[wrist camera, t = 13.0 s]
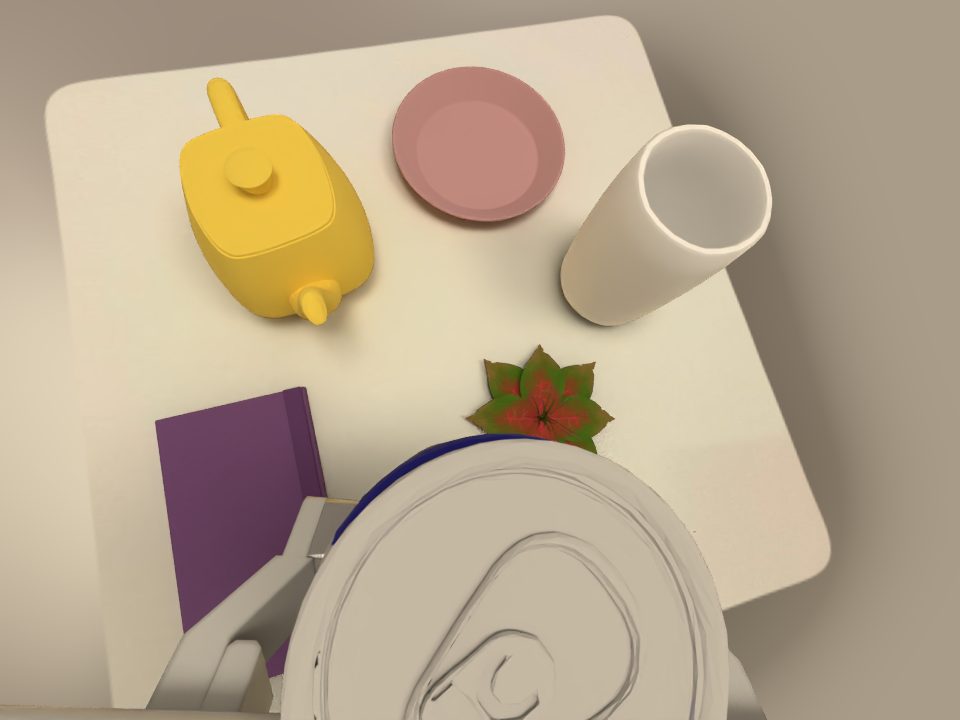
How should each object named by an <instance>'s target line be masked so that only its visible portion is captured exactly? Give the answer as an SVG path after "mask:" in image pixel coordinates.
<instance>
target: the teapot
mask: <svg viewBox="0 0 960 720" xmlns="http://www.w3.org/2000/svg"><path fill="white" fill-rule="evenodd" d="M207 94H208V97H209V100H210V103H211V105H212V108H213V110H214V113H215V115H216V118H217V120H218V123H219V125H220V127H221V128H219V129H216V130H213V131H210V132H208V133H205V134H203V135H200V136H198V137H196V138H194V139H192V140H190V141H189V142H188V143H186V145H185V146H184V147H183V149H182V151H181V154H180V174H181V181H182V187H183V192H184V197H185V201H186V206H187V211H188V215H189V219H190V223H191V226H192V229H193V232H194V235H195V238H196V240H197V242H198V244H199V246H200V248H201V250H202V253H203V255H204V257H205V258H206V260H207V262H208V263H209V265H210V267H211V268H212V270H213V271H214V273H215V274H216V275H217V277H218V278H219V279H220V281H221V282H222V283H223V284H224V286H225V287H226V288H227V289H228V290H229V292H230V293H231V294H232V295H233V296H234V297H235V298H236V299H237V300H238V301H239V302H240V303H241V304H242V305H243V306H244V307H245V308H247V309H248V310H249V311H251V312H252V313H254V314H257V315H259V316H263V317H268V318H279V317H284V316H289V315H293V314H298V315H299V316H300V317H302V318H304V319H308V320H309V321H311V322H312V323H313V324H316V325H321V324H323V323H324V322H325V321H326V319H327V315H328V314H330V313H332V312H333V311H334V310H335V309H336V308H337V307H338V306H339V304H340V301H341V296H343V295H345V294H347V293H349V292H350V291H352V290H354V289H355V288H357V287H359V286H360V285H361V284H362V283H364V282H365V281H366V280H367V278H368V277H369V275H370V274H371V271H372V269H373V264H374V246H373V240H372V234H371V230H370V226H369V223H368V219H367V216H366V213H365V210H364V208H363V206H362V203H361V201H360V199H359V197H358V195H357V193H356V191H355V189H354V188H353V186H352V184H351V183H350V181H349V179H348V178H347V176H346V175H345V173H344V172H343V171H342V169H341V168H340V167H339V165H338V164H337V163H336V162H335V160H334V159H333V158H332V157H331V155H330V154H329V153H328V152H327V151H326V149H325V148H324V147H323V146H322V145H321V144H320V143H319V142H318V141H317V140H316V139H315V138H314V137H313V136H312V135H310V134H309V133H308V132H307V131H306V130H305V129H304V128H303V127H301V126H300V125H299V124H297V123H296V122H295V121H293V120H292V119H290V118H288V117H286V116H283V115H267V116H262V117H257V118H253V119H249V118H248V116H247V114H246V112H245V110H244V108H243V106H242V104H241V102H240V100H239V98H238V96H237V94H236V92H235V90H234V89H233V87H232V86H231V84H230V83H229V82H227V81H226V80H224V79H222V78H214V79H212V80H210V81H209V82H208V84H207Z"/></svg>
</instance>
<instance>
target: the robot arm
mask: <svg viewBox="0 0 960 720" xmlns="http://www.w3.org/2000/svg"><path fill="white" fill-rule="evenodd" d="M358 503H359V501H354V500H344V499H334V498H324V497H312V496H307V497H306V498H305V500H304V501H303V503H302V506H301V508H300V511H299V514H298V516H297V519H296V521H295V524H294V527H293V529H292V532H291V534H290V537H289V539H288V542H287V545H286V547H285V550H284V552H283V555H282V556H281V555H276V556H275V557H274V558H272V559H271V560H270V561H269V562H268V563H267V564H265V565H264V566H263V567H262V568H261V569H260V570H258V571H257V572H256V573H255V574H254V575H253V576H251V577H250V578H249V579H248V580H247V581H246V582H244V583H243V584H242V585H241V586H240V587H239V588H237V589H236V590H235V591H234V592H233V593H232V594H230V595H229V596H228V597H227V598H226V599H225V600H223V601H222V602H221V603H220V604H219V605H218V606H216V607H215V608H214V609H213V610H212V611H211V612H209V613H208V614H207V615H206V616H205V617H204V618H202V619H201V620H200V621H199V622H198V623H197V624H195V625H194V626H193V627H192V628H191V629H190V630H188V631H187V632H186V633H185V634H184V635H183V636H182V638H181V640H180V642H179V644H178V646H177V648H176V650H175V652H174V654H173V656H172V658H171V660H170V662H169V664H168V666H167V668H166V669H165V671H164V673H163V675H162V677H161V679H160V681H159V683H158V685H157V687H156V689H155V691H154V693H153V695H152V697H151V699H150V701H149V703H148V705H147V707H146V709H121V708H85V707H52V706H18V705H17V706H16V705H0V720H281V713H269V710H270V707H271V703H272V700H273V697H274V696H273V692H272V688H271V684H270V680H269V676H268V672H267V668H266V665H265V664H266V663H267V662H268V660H269V659H270V658H271V657H272V656H273V655H274V653H275V652H276V651H277V650H278V649H279V648H280V646H281V645H282V644H283V643H284V642H285V640H286V639H287V638H288V637H289V636H290V635H291V633H292V632H293V629H294V626H295V623H296V620H297V617H298V614H299V611H300V608H301V605H302V602H303V600H304V598H305V596H306V594H307V592H308V589H309V587H310V585H311V583H312V581H313V579H314V577H315V575H316V573H317V571H318V569H319V566H320V564H321V561H322V559H323V556H324V554H325V551H326V549H327V547H328V545H329V543H330V541H331V540H332V538H333V536H334V534H335V533H336V531H337V529H338V528H339V527H340V526H341V524H342V523H343V522H344V520H345V519H346V518H347V517H348V515H349V514H350V513H351V511H352V510H353V509H354V508H355V506H356V505H357V504H358ZM728 656H729V670H730V680H729V694H728V707H727V720H767V719H766V717H765V714H764V712H763V710H762V708H761V706H760V704H759V702H758V699H757V697H756V696H755V693H754V691H753V688H752V686H751V684H750V682H749V680H748V678H747V675H746V673H745V671H744V669H743V667H742V664H741V662H740V661H739V660H738V659H737V658H736V657H735V656H734V655H733V654H732V653H731V652H730V651H729V650H728Z"/></svg>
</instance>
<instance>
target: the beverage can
mask: <svg viewBox="0 0 960 720" xmlns="http://www.w3.org/2000/svg"><path fill="white" fill-rule="evenodd" d="M729 680H730V670H729V656H728V641H727V630H726V626H725V622H724V618H723V613H722V609H721V605H720V602H719V598H718V594H717V591H716V587H715V584H714V580H713V577H712V575H711V573H710V571H709V569H708V567H707V565H706V563H705V561H704V559H703V557H702V554H701V552H700V550H699V548H698V546H697V544H696V542H695V540H694V539H693V537H692V536H691V534H690V533H689V531H688V530H687V528H686V527H685V525H684V524H683V523H682V521H681V520H680V519H679V518H678V516H677V515H676V514H675V513H674V511H673V510H672V509H671V508H670V506H669V505H668V504H667V503H666V502H665V501H664V500H663V499H662V498H661V497H660V496H659V495H658V494H657V493H656V492H655V491H654V490H653V489H651V488H650V487H649V486H648V485H647V484H645V483H644V482H643V481H642V480H640V479H639V478H638V477H636V476H635V475H634V474H632V473H631V472H630V471H628V470H627V469H625V468H623V467H622V466H620V465H618V464H617V463H615V462H613V461H611V460H610V459H607V458H605V457H602V456H600V455H597V454H594V453H592V452H589V451H587V450H584V449H582V448H579V447H577V446H572V445H568V444H563V443H558V442H554V441H550V440H547V439H543V438H539V437H534V436H528V435H521V434H484V435H477V436H469V437H464V438H461V439H457V440H453V441H449V442H445V443H441V444H437V445H434V446H430V447H428V448H426V449H424V450H422V451H420V452H418V453H417V454H416V455H414V456H413V457H411V458H410V459H408V460H407V461H405V462H404V463H402V464H401V465H400V466H398V467H397V468H396V469H394V470H393V471H392V472H390V473H389V474H388V475H387V476H385V477H384V478H383V479H381V480H380V481H379V482H378V483H377V484H376V485H375V486H374V487H373V488H372V489H371V490H370V491H369V492H368V493H367V494H366V495H364V496H363V498H362V499H361V500H360V501H359V503H358V504H357V505H356V506H355V508H354V509H353V510H352V511H351V513H350V514H349V515H348V517H347V518H346V519H345V520H344V522H343V523H342V524H341V526H340V527H339V528H338V529H337V531H336V533H335V534H334V536H333V538H332V540H331V541H330V543H329V545H328V547H327V549H326V551H325V554H324V556H323V559H322V561H321V564H320V566H319V569H318V571H317V573H316V575H315V577H314V579H313V581H312V583H311V585H310V587H309V589H308V592H307V594H306V596H305V598H304V600H303V602H302V605H301V608H300V611H299V614H298V617H297V620H296V623H295V626H294V629H293V632H292V635H291V638H290V643H289V647H288V652H287V657H286V662H285V667H284V676H283V685H282V694H281V703H280V706H281V720H727V707H728V694H729Z"/></svg>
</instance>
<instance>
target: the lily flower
mask: <svg viewBox="0 0 960 720" xmlns="http://www.w3.org/2000/svg"><path fill="white" fill-rule="evenodd" d="M484 361H485V364H486V370H487V374H488V375H489V377H488V382H489V387H490V390H491V394H492V396H493V398H494V399H493V400H492V401H490V402H489V403H487V404H486V405H484V406H483V407H482V408H480V409H479V410H478V411H477V413H475V415H471V416H469V417H467V418H465V419H467V420H470V421H472V422H473V423H474V424H476V425H477V426H478V427H482V429H483V430H484V431H485V432H487V433H488V434H521V435H528V436H534V437H539V438H543V439H547V440H550V441H554V442H558V443H563V444H568V445H572V446H577V447H579V448H582V449H584V450H587V451H589V452H592V453H594V454H597V450H596V447H595V444H594V442H593V440H592V437H593V436H595V435H597V434H598V433H599V432H600V431H601V430H602V429H603V428H604V427H605V426H606V424H607V422H608V421H609V422H611V421H612V420H614V419H615V418H613V417H611V416H610V415H609V414H608V413H607V412H606V411H605V410H602V409H601V407H600V406H599V405H598V404H597V403H596V402H594V401H592V400H591V399H590V397H591V394H592V391H593V384H594V374H593V371H592V370H593V369H594V366H595V363H596V362H594V363H591V364H583V365H582V366H579V365H573V366H568V367H565V368H562V369H560V367H559V366H558V364H557V363H556V362H555V361H554V360H553V359H552V358H551V357H550V356H549V355H548V354H547V353H545V352H543V348H542V347H541V345H540V344H539V346H538V349H537V350H536V351H535V353H534V354H533V358H530V360H529V361H528V363H527V365H526V367H525V368H524V369H522V368H520V367H518V366H515V365H511V364H506V363H499V362H496V363H491V361H488V360H485V359H484Z"/></svg>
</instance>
